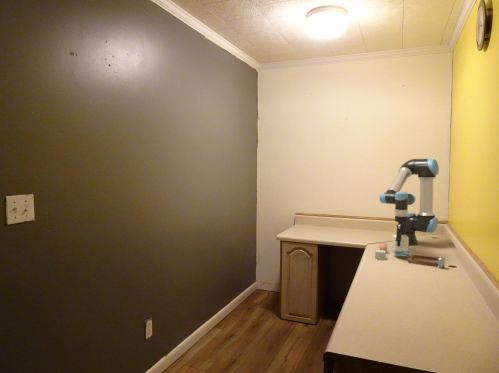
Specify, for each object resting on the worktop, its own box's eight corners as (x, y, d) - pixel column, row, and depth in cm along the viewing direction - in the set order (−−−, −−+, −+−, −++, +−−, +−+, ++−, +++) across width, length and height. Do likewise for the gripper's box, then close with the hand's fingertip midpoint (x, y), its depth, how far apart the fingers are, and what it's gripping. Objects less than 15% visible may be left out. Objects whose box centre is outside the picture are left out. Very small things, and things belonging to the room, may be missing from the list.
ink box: (408, 255, 230) (409, 234, 229) (395, 255, 232) (395, 234, 231) (405, 252, 238) (406, 232, 237) (392, 251, 240) (392, 231, 239)
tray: (412, 257, 233) (412, 254, 233) (440, 261, 225) (440, 258, 225) (408, 262, 221) (408, 259, 221) (437, 266, 212) (437, 263, 212)
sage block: (374, 257, 235) (375, 249, 234) (384, 257, 233) (384, 250, 233) (375, 259, 229) (375, 252, 229) (385, 260, 228) (385, 252, 227)
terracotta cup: (380, 251, 250) (380, 243, 250) (387, 252, 247) (388, 243, 247) (378, 253, 246) (378, 244, 245) (386, 254, 243) (386, 245, 243)
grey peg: (437, 266, 213) (438, 256, 212) (444, 267, 211) (445, 257, 210) (437, 268, 210) (437, 258, 209) (444, 269, 208) (444, 258, 207)
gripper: (398, 212, 245) (398, 244, 246) (391, 217, 226) (390, 252, 227) (410, 213, 241) (409, 246, 242) (404, 218, 222) (403, 253, 223)
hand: (400, 249), depth 235 cm, fingers closed on ink box, 10 cm apart
